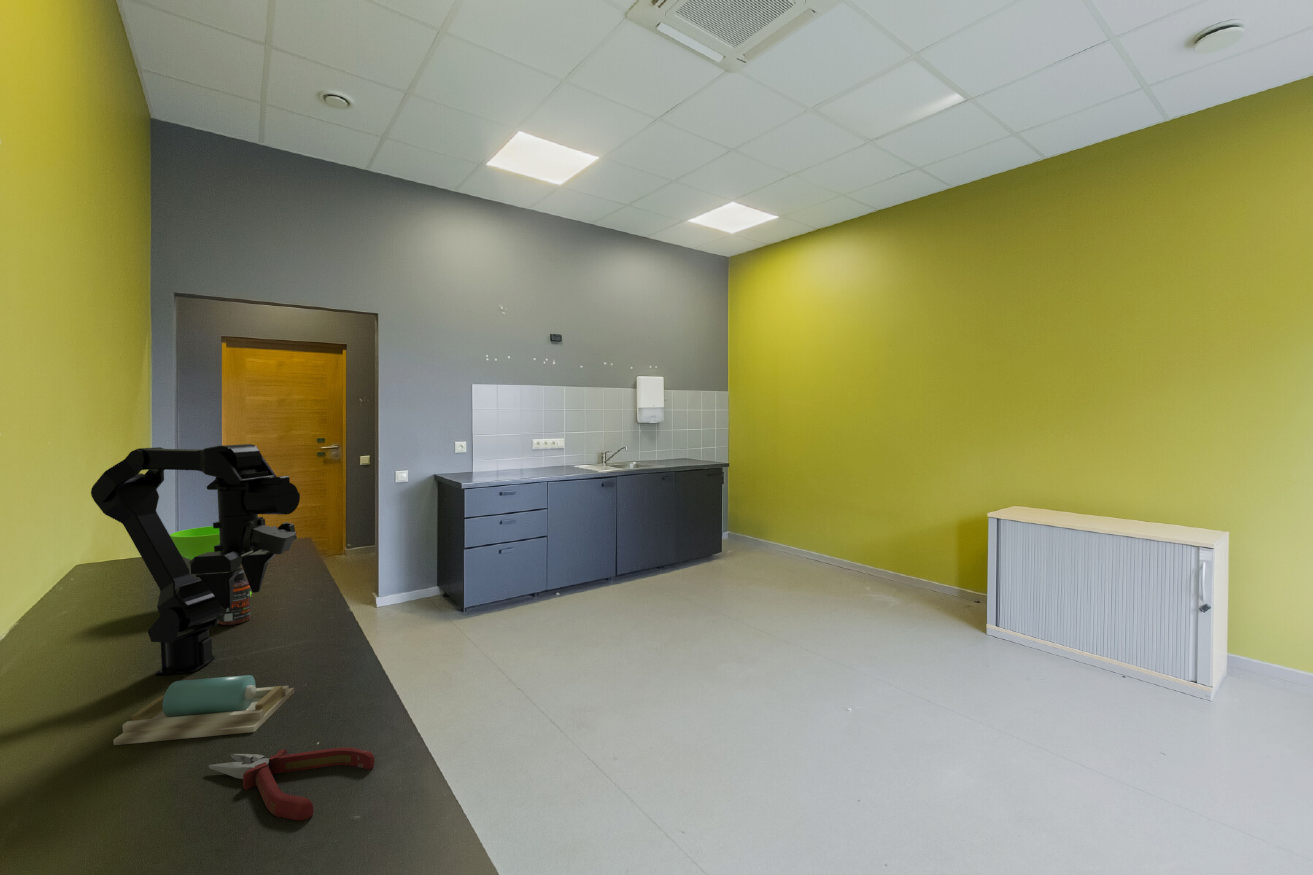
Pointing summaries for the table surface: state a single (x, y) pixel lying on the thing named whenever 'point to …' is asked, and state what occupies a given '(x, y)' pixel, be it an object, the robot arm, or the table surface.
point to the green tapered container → (196, 541)
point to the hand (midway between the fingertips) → (242, 599)
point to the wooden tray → (201, 719)
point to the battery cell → (209, 696)
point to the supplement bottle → (237, 603)
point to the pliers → (261, 769)
